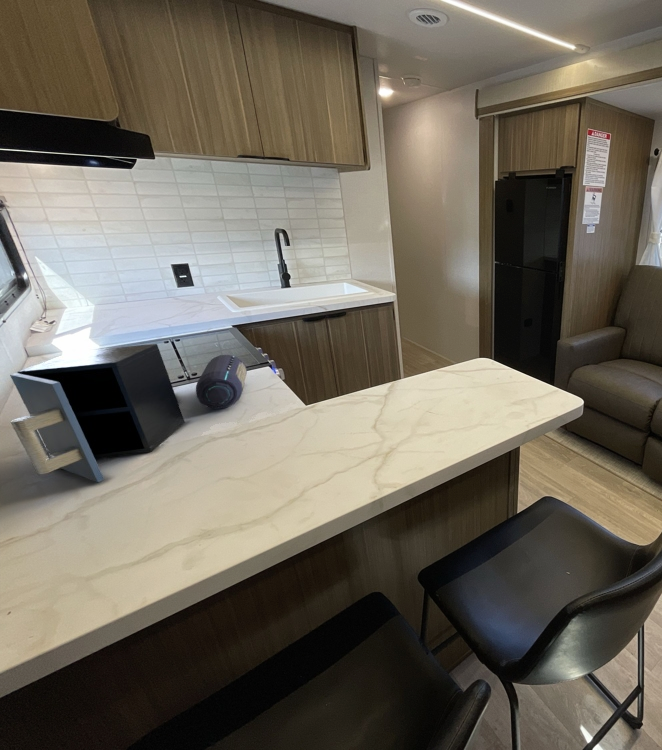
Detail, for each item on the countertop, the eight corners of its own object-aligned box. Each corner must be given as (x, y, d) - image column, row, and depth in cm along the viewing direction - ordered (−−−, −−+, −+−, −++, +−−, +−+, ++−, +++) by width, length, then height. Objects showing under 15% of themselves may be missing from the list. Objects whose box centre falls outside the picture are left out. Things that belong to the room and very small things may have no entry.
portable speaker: (245, 408, 104) (235, 372, 101) (199, 417, 100) (187, 380, 97) (251, 379, 125) (242, 348, 122) (213, 386, 121) (203, 354, 118)
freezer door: (57, 500, 70) (3, 396, 63) (16, 482, 76) (-38, 385, 69) (104, 479, 75) (59, 381, 68) (62, 464, 81) (17, 373, 75)
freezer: (151, 451, 85) (115, 362, 78) (62, 463, 82) (16, 371, 75) (185, 422, 97) (157, 343, 91) (109, 432, 95) (74, 351, 88)
